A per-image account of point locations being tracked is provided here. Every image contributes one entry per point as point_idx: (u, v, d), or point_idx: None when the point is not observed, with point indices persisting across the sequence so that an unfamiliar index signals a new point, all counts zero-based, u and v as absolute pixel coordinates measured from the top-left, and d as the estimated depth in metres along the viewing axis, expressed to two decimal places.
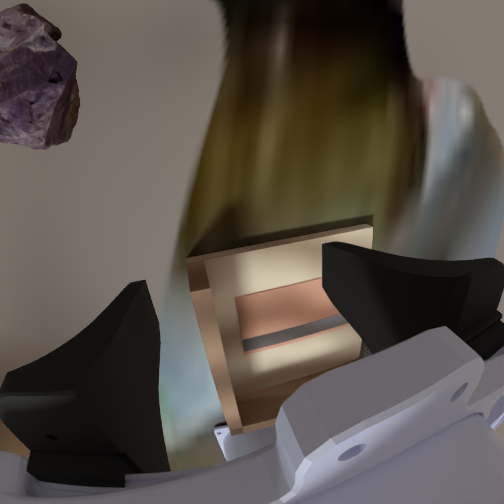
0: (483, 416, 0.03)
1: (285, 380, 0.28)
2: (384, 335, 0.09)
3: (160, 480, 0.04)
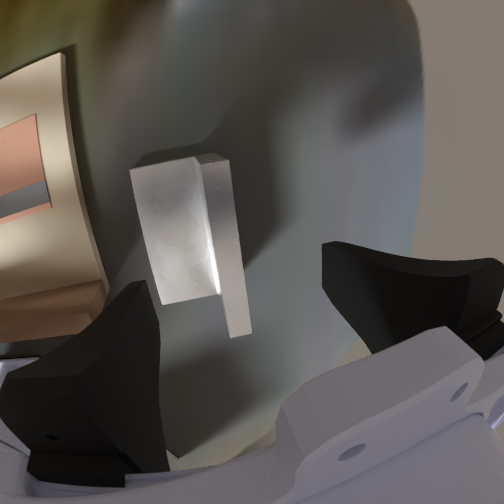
0: (483, 416, 0.03)
1: (7, 294, 0.16)
2: (384, 335, 0.09)
3: (160, 480, 0.04)
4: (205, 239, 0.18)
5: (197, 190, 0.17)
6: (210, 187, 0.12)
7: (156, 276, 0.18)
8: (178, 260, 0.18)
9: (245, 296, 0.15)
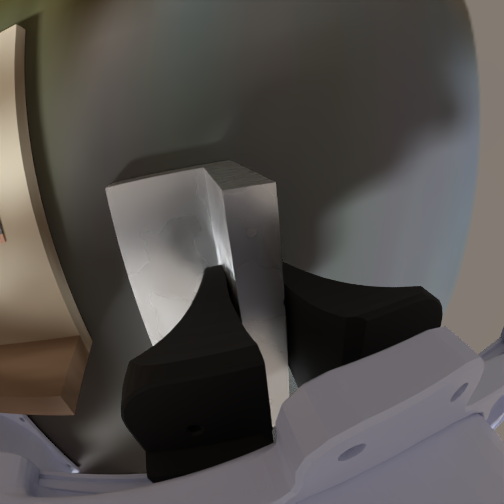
0: (483, 416, 0.03)
1: None
2: (300, 364, 0.08)
3: None
4: None
5: (208, 218, 0.11)
6: (240, 234, 0.07)
7: (152, 335, 0.13)
8: (182, 315, 0.13)
9: (286, 386, 0.09)
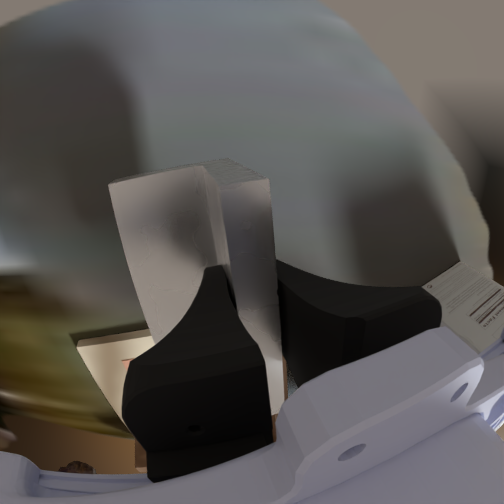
0: (483, 416, 0.03)
1: None
2: (300, 364, 0.08)
3: None
4: None
5: (206, 213, 0.12)
6: (235, 226, 0.07)
7: (151, 327, 0.13)
8: (181, 308, 0.13)
9: (281, 374, 0.10)
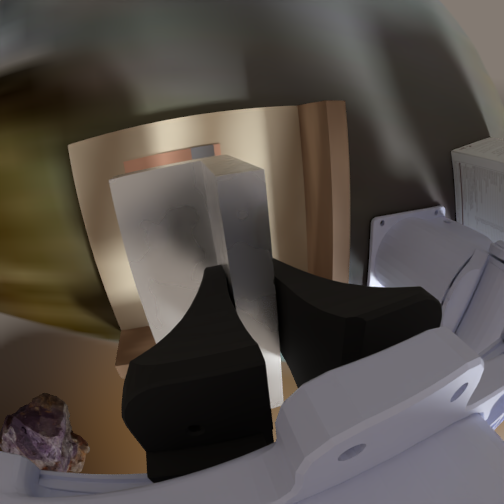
0: (483, 416, 0.03)
1: (302, 227, 0.21)
2: (300, 365, 0.08)
3: None
4: None
5: (205, 208, 0.12)
6: (232, 216, 0.07)
7: (151, 322, 0.13)
8: (180, 302, 0.13)
9: (278, 366, 0.10)
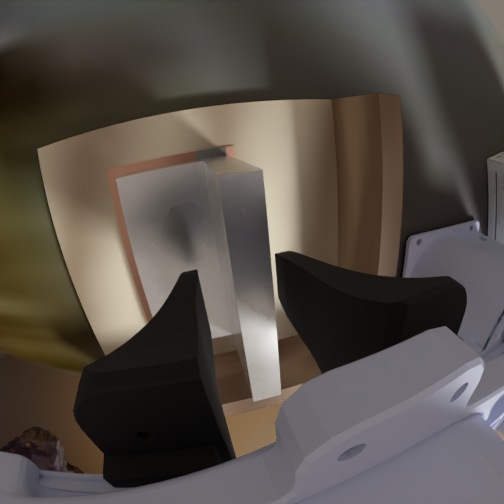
0: (483, 416, 0.03)
1: (333, 251, 0.17)
2: (329, 355, 0.08)
3: None
4: (218, 270, 0.14)
5: (208, 206, 0.13)
6: (233, 212, 0.08)
7: None
8: None
9: (276, 356, 0.10)
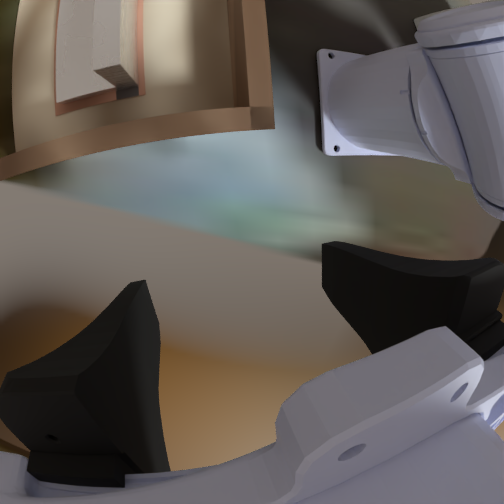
0: (483, 416, 0.03)
1: (224, 35, 0.15)
2: (384, 335, 0.09)
3: (160, 480, 0.04)
4: None
5: None
6: None
7: (57, 69, 0.12)
8: (82, 50, 0.12)
9: (118, 16, 0.08)
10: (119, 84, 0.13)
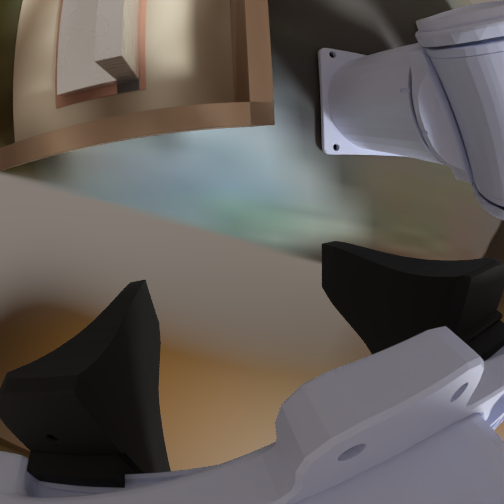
0: (483, 416, 0.03)
1: (226, 31, 0.14)
2: (384, 335, 0.09)
3: (160, 480, 0.04)
4: None
5: None
6: None
7: (59, 61, 0.12)
8: (85, 43, 0.12)
9: (121, 9, 0.08)
10: (120, 77, 0.13)
